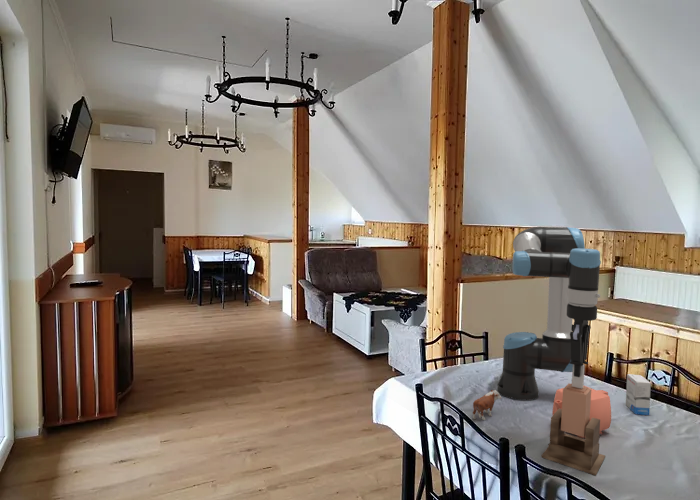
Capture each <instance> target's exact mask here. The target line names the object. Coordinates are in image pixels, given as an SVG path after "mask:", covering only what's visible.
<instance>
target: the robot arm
mask: <svg viewBox="0 0 700 500" xmlns="http://www.w3.org/2000/svg"><path fill="white" fill-rule="evenodd" d="M512 248H513V251H514V252H513V254H512V267H511V268H512V274H513V275H516V276H520V277H521V276H522V277H543V278H548V296H547V298H548V301H547V322H546V324H547V326H546V327H547V328H546V330H544V332H542V334H541V335H542V336H541V337H538V336H537V334H536V333H533V332H529V331H518V332H517V331H516V332H515V331H514V332H512V333H508V334H506V335H505V337H504V338H503V340H504V341H503V345H502V348H503V358H502V372H501V374H500V377H499V380H498V381H497V385H496V391H497V392H498V393H499V394H500V396H501V395H502V396H503V397H505V398H508V399H513V400H518V401H532V400H535V399H538V398H539V392H540V389H539V386H538V383H537V379H536V375H535V372H536V370H541V371H542V370H543V371H552V372H553V371H554V372H560V373H572V375H571V383H572V387H577V388H581V389H582V388H583V385H584V384H585V383H584V380H585V368H586V367H585V365H589V362H588V361H587V359H588V350H589V340H590V334H591V333H590V332H591V328H592V327H591V325H590V324H589V321H596V320H597V319H598V307H597V306H596V305H597V304H598V298H601V294H600V293H599V282H600V270H601V269H600V268H601V267H600V265H601V252H600V251H599V250H598V249H595V248H586V246H585V239H584V235H583V232H582V230H581V229H579V227H578V228H577V227H569V226H565V227H562V226H561V227H560V226H533V227H530V228H529V227H528V228H526V229H523V230H522V231H519V232H518V233H517V234H516V236H515V237H514V239H513V242H512ZM584 386H585V385H584Z"/></svg>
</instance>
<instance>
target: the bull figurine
mask: <svg viewBox="0 0 700 500" xmlns="http://www.w3.org/2000/svg"><path fill="white" fill-rule="evenodd" d="M498 399H499V400H501V399H502V396H501V394H500V393H499V392H498V391H497V389H490V391H488V393H486V394H484V395H482V396H480V397H478V398H477V399H475V400H473V403H472V408H473V411H472V419H473V420H476V419H477V418H476V413H477V414H478V417H479V419H481V420H483V421H486V417H485V416H484V413H485V414H488V416H490V417H492V416H493V415H492V411H493V407H494V405H495V401H497V400H498Z"/></svg>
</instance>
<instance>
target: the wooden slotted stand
mask: <svg viewBox="0 0 700 500" xmlns="http://www.w3.org/2000/svg"><path fill="white" fill-rule="evenodd" d="M561 416H562V409H558V410H557V411H556V413H555V414H554V415H551V417H550V429H549V430H550V432H549V443H548V446H547V447H546V449H545V450H544V451H543V452H542V454H541V456H540V457H541V458H543V459H545V460H548V461H551V462H554V463H557V464H560V465H563V466H566V467H569V468H572V469H575V470H578V471H581V472H583V471H584V473H587V474H589V475H593V476H595V477H597V475H598V473H599V470H601V466H602V464H603V462H604V460H605V459H606V455H605V454H601V453H600V434H599V432H600V419H596V418H592V419H591V420H590V422H589V423H588V425H587V426H586V431H585V438H581V437H578V436H574V435H573V434H572V435H571V434H570V433H566V432H565V431H562V430H561Z"/></svg>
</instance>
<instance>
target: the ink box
mask: <svg viewBox="0 0 700 500" xmlns="http://www.w3.org/2000/svg"><path fill="white" fill-rule="evenodd" d="M651 385H652V384H651V382H650V381H649V380H648V379H646V378H645V377H644V376H642V375H641V374H631V373H628V374H626V390H625V393H626V394H625V406H626V407H627V408H628V409H629V410H630V411H632V413H634V415H638V416H639V415H641V416H642V415H643V416H650V404H651Z"/></svg>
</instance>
